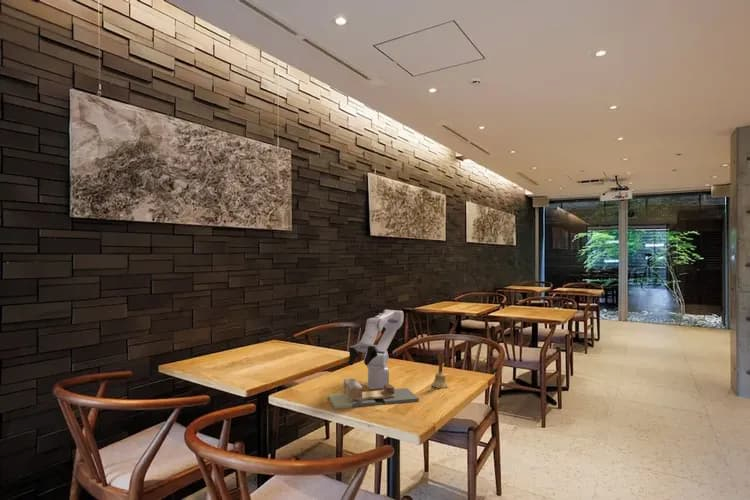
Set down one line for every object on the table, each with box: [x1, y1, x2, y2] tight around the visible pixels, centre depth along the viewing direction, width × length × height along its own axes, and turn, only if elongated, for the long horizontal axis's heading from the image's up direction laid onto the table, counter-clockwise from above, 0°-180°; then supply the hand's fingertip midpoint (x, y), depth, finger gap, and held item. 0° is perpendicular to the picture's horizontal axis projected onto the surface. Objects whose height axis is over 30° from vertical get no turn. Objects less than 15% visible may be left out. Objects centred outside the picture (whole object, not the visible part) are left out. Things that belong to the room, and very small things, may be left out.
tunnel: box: [343, 378, 364, 403], centre depth 177 cm, size 5×12×6 cm, turn 17°
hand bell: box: [430, 351, 450, 389], centre depth 200 cm, size 8×8×16 cm
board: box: [327, 387, 420, 410], centre depth 180 cm, size 36×14×1 cm, turn 107°
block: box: [346, 385, 359, 398], centre depth 177 cm, size 4×4×4 cm
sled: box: [345, 383, 395, 401], centre depth 179 cm, size 20×7×4 cm, turn 107°
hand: (357, 363), depth 178 cm, fingers open, 7 cm apart
